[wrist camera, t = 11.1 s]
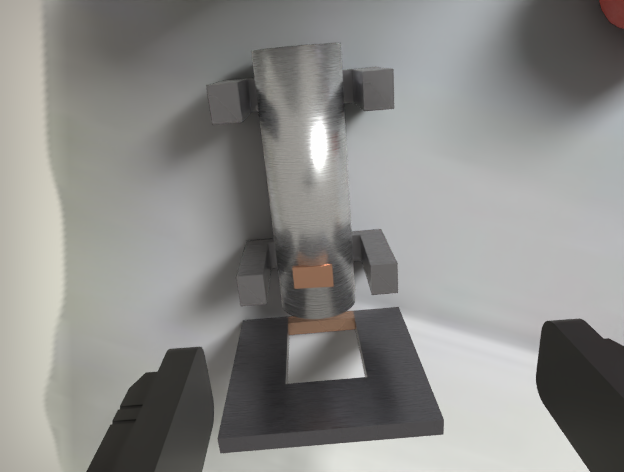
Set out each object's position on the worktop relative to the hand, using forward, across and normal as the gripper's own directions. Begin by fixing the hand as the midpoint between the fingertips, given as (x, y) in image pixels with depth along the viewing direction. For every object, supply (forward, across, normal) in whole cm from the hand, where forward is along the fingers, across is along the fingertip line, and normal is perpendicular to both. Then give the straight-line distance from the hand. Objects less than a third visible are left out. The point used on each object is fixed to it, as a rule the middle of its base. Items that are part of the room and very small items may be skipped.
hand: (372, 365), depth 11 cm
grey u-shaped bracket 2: (+22, +1, +6) cm, 23 cm away
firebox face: (+22, +1, +12) cm, 25 cm away
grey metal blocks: (+22, +1, -5) cm, 23 cm away
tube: (+21, +1, +1) cm, 21 cm away
